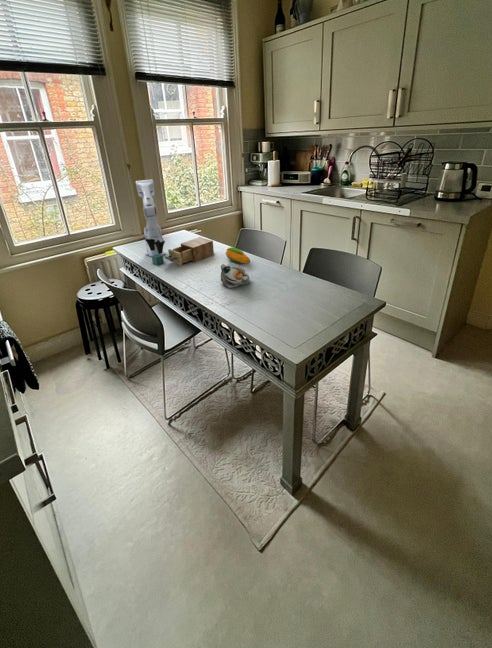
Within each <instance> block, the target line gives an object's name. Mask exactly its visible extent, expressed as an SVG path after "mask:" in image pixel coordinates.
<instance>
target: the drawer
mask: <svg viewBox="0 0 492 648" xmlns="http://www.w3.org/2000/svg"><path fill="white" fill-rule="evenodd" d="M167 251H168V253H167V254H168V255H166V256H164V259H165V260H168V261H169V262H171V263H174V264H175V265H179V266H183V264H184V263H188V262H190V261H191V260H193V259H194V257H193V249H192V248H189V247H186V246H181V245H180V246H178V247H177V246H176V247H175V248H172V249H170V248H169V249H168V250H167ZM191 262H192V261H191Z"/></svg>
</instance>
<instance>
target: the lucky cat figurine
mask: <svg viewBox="0 0 492 648" xmlns="http://www.w3.org/2000/svg"><path fill="white" fill-rule="evenodd" d="M220 269H221V272H220V282H221V283H222V285H223V286H224V287H227V288H229V289H232V288H236V287H239V286H243V285H247V284H249V283H250V276H249V274H248V273H247V272H246V269H245V268H244V267H242V266H241V263H240V264H239V263H228V264H227V265H226V264H225V263H222V264H221V265H220Z"/></svg>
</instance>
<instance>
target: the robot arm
mask: <svg viewBox="0 0 492 648" xmlns="http://www.w3.org/2000/svg"><path fill="white" fill-rule="evenodd" d="M135 186H136V187H135V188H136V192H137V196H138V197H139V198H142V204H143V207H142V209H143V215H144V218H145V222H146V226H145V227H144V228H143V233H144V234H143V235H144V238H145V239H144V241H145V247H146V253H145V255H147V256H149V257H152V256H153V255H156V254H160V255H163V256H164V255H166V252H163V251H164V245H165V243H166V241H165V240H164V237H163V231H162V229H161V226H160V225H159V224H158V217H157V216H158V211H157V210H158V209H157V206H156V204H155V200H154V198H153V197H154V196H155V184H154V180H153V179H142V180H136V181H135Z"/></svg>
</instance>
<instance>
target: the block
mask: <svg viewBox="0 0 492 648" xmlns="http://www.w3.org/2000/svg"><path fill="white" fill-rule="evenodd" d="M151 261H152V264H153V265H156V266H159V265H162V264H164V261H165V260H164V255H160V254H156V255H153V256H151Z"/></svg>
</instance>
